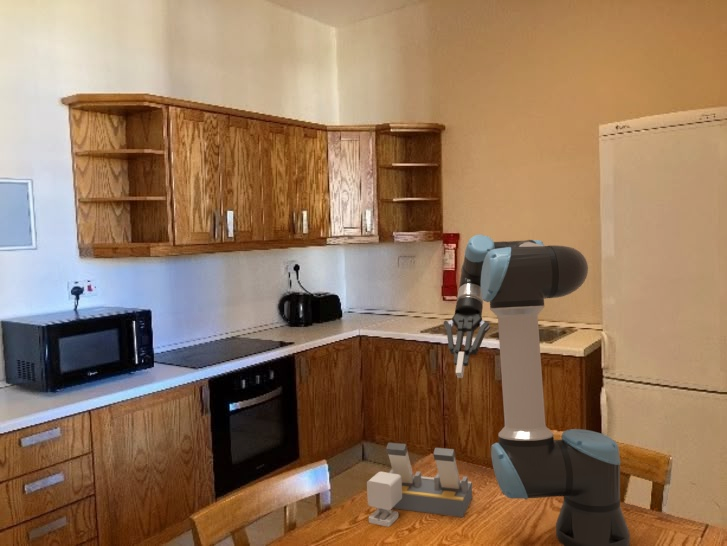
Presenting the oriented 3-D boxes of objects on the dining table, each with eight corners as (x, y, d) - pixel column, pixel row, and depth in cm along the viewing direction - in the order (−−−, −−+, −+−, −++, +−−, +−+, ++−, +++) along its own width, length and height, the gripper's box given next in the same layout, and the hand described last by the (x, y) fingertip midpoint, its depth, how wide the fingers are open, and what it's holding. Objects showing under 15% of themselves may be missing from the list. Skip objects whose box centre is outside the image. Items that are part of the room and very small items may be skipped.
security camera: (403, 514, 152) (401, 474, 152) (390, 527, 146) (388, 486, 145) (379, 509, 155) (378, 470, 155) (366, 522, 149) (364, 481, 148)
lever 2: (462, 485, 156) (455, 449, 149) (461, 492, 154) (453, 456, 147) (442, 483, 158) (433, 447, 151) (440, 489, 156) (432, 454, 149)
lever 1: (416, 480, 160) (407, 444, 153) (414, 486, 159) (405, 450, 152) (396, 478, 162) (387, 442, 155) (394, 484, 160) (384, 448, 154)
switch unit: (472, 497, 160) (471, 470, 159) (463, 517, 149) (462, 488, 149) (397, 488, 167) (396, 462, 166) (384, 507, 157) (382, 479, 156)
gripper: (494, 311, 179) (486, 383, 165) (449, 311, 184) (438, 381, 170) (490, 295, 174) (481, 368, 160) (444, 295, 179) (432, 366, 165)
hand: (459, 375), depth 165 cm, fingers closed
